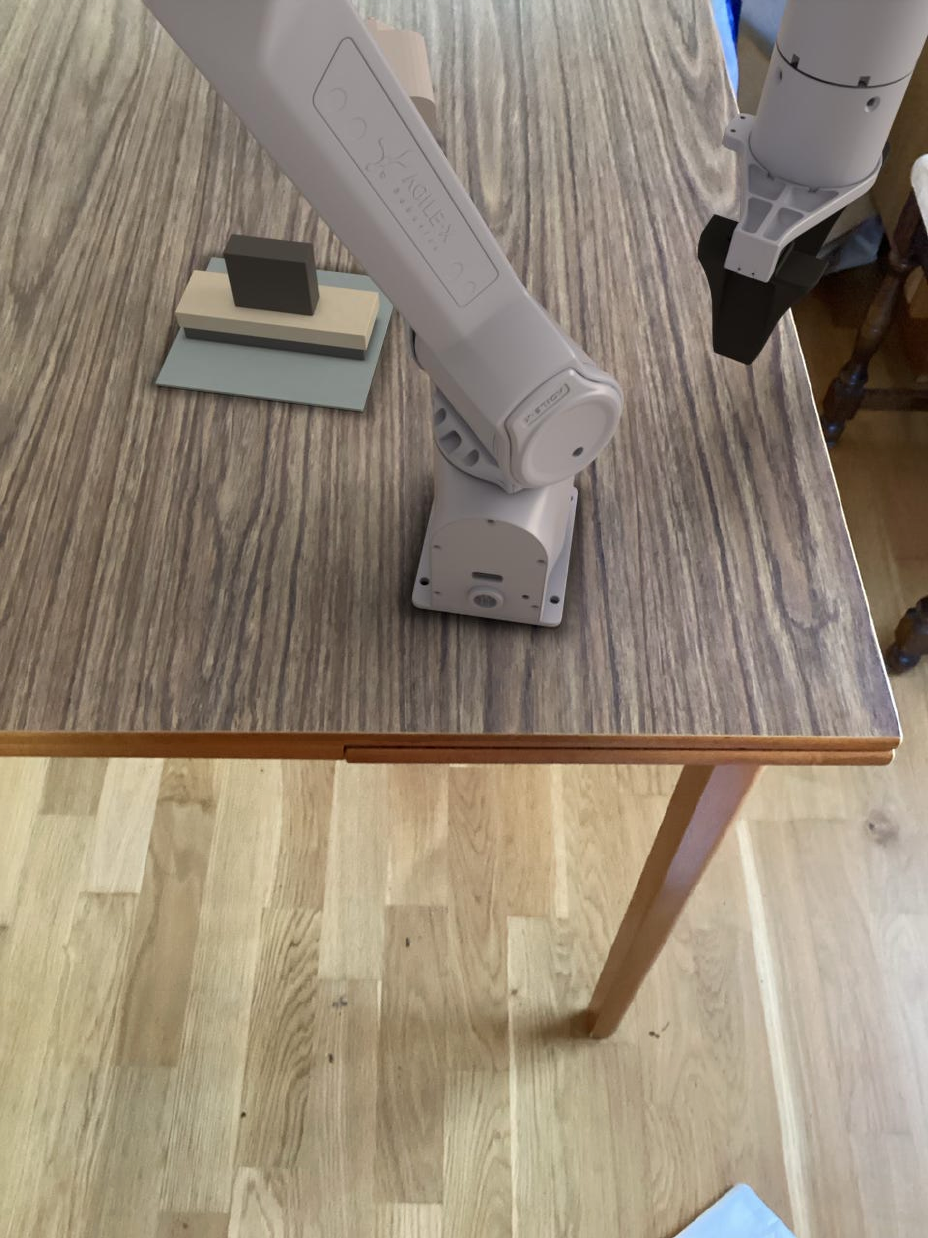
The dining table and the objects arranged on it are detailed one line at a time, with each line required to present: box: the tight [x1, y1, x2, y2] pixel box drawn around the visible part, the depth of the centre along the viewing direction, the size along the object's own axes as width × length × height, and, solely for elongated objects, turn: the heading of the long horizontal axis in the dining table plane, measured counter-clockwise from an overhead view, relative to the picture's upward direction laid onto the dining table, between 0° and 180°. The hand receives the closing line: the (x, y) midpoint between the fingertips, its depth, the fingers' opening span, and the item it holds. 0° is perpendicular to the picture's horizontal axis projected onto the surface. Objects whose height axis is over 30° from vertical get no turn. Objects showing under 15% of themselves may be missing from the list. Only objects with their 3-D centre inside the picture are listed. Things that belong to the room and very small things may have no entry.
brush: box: [174, 233, 379, 360], centre depth 63 cm, size 4×12×6 cm, turn 81°
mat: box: [155, 256, 395, 413], centre depth 66 cm, size 12×13×1 cm
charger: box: [363, 15, 437, 141], centre depth 77 cm, size 5×9×15 cm
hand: (760, 310), depth 54 cm, fingers open, 7 cm apart
